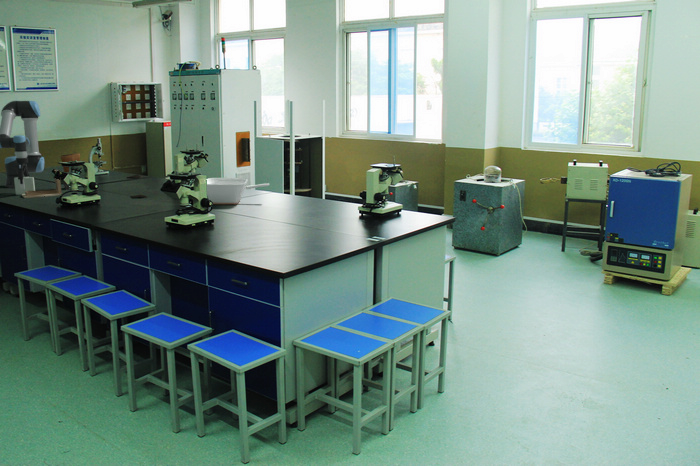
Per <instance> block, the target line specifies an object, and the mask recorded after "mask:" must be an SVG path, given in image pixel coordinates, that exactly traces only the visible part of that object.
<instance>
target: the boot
mask: <svg viewBox="0 0 700 466" xmlns="http://www.w3.org/2000/svg"><path fill="white" fill-rule="evenodd" d="M80 153H81V152H76V153H70V154H69V153H68V154H63V155H60V159H61V163H62V162H69V161H75V160H77V161H81V156H80ZM62 169H63V173H64V172H69V167H65V166H63V165H62ZM63 186H64V189H65V190H66V189H69V188H70V187H69V186H68V185H66V184H65V183H64V182H63Z"/></svg>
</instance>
